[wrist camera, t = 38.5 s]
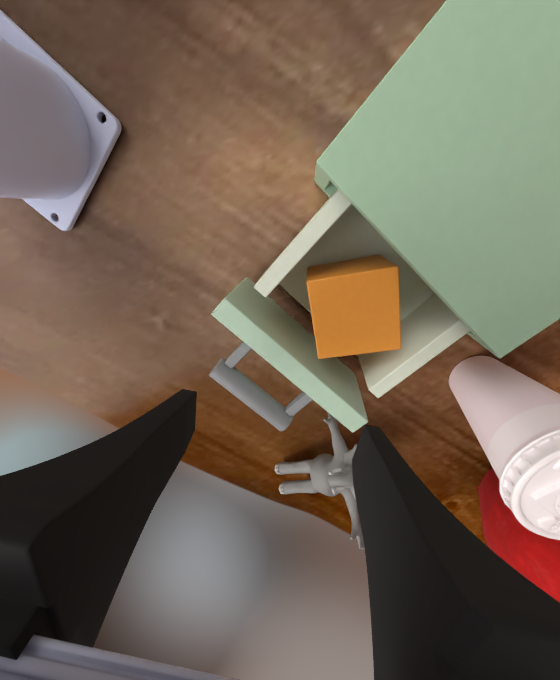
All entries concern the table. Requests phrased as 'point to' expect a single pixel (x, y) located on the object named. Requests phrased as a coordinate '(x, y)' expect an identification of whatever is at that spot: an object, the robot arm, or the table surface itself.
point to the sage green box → (467, 164)
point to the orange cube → (355, 306)
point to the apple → (518, 540)
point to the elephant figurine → (327, 476)
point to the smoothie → (515, 437)
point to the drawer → (299, 345)
